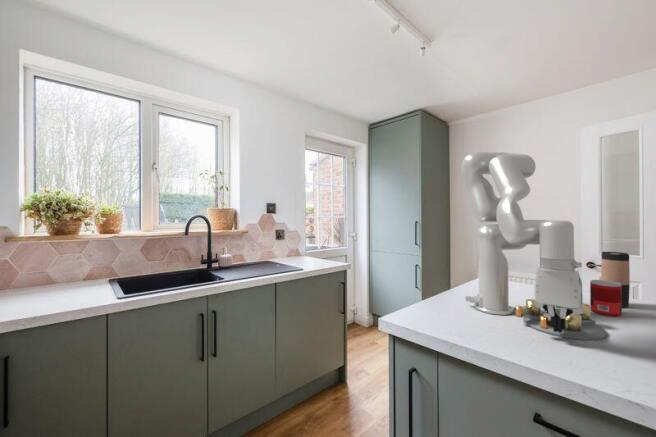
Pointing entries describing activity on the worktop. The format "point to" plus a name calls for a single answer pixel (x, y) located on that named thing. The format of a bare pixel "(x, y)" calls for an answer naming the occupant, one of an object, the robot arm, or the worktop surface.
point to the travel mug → (617, 272)
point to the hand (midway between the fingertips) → (558, 330)
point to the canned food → (606, 298)
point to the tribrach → (587, 329)
